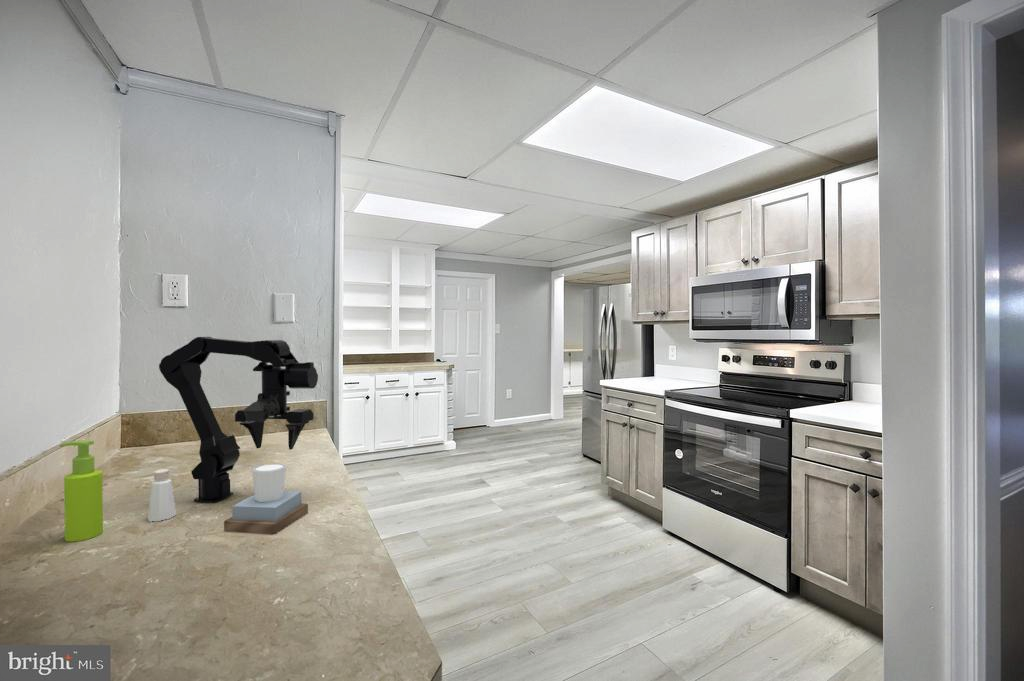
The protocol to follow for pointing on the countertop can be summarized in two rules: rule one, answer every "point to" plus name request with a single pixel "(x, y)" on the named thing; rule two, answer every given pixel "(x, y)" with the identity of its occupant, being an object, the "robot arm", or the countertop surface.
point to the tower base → (266, 523)
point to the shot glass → (269, 482)
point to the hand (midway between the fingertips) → (274, 448)
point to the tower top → (266, 508)
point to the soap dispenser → (83, 496)
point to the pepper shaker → (161, 497)
